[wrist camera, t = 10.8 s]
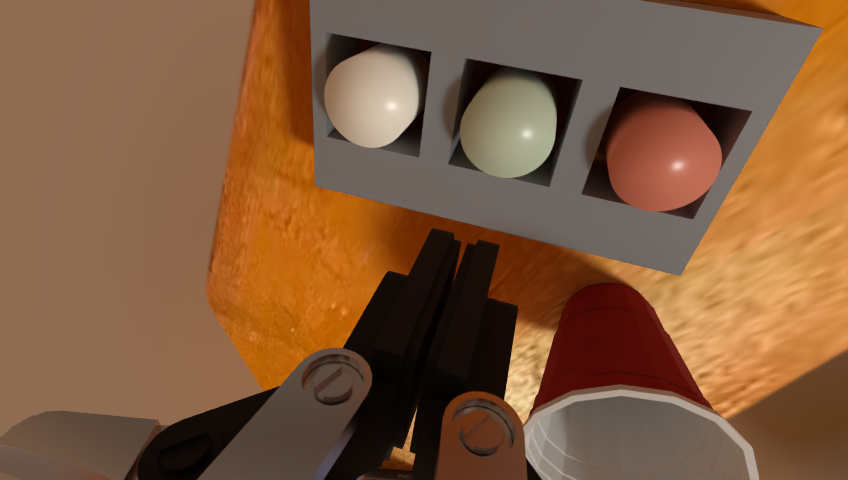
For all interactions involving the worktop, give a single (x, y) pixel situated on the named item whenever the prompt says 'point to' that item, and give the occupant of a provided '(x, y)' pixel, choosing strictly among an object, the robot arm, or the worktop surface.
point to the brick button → (659, 152)
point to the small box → (387, 475)
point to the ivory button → (377, 93)
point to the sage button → (510, 122)
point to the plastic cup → (625, 401)
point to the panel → (585, 117)
